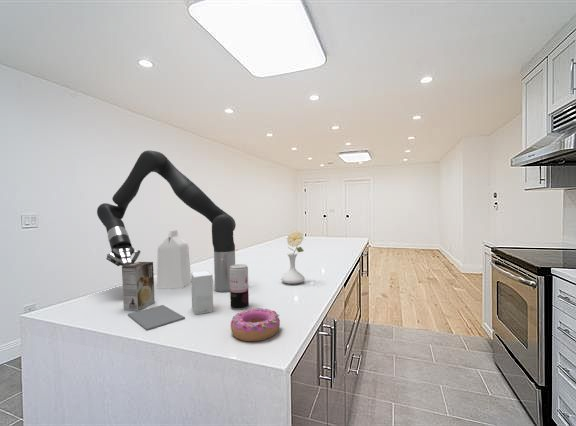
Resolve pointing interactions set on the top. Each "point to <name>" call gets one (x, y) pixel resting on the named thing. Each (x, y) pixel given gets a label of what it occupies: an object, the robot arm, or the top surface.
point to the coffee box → (138, 285)
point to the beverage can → (239, 286)
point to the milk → (173, 263)
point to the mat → (155, 317)
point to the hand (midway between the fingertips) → (129, 271)
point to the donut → (255, 324)
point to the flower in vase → (293, 259)
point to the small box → (202, 292)
